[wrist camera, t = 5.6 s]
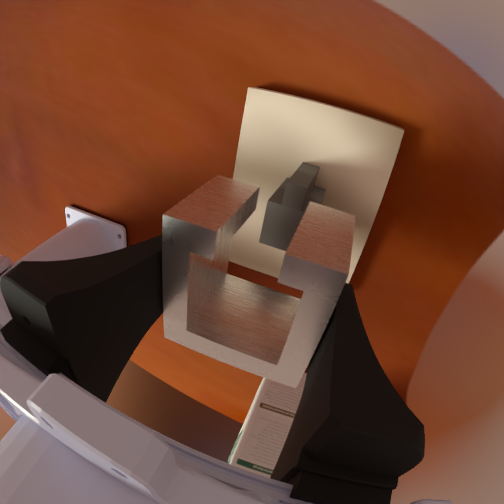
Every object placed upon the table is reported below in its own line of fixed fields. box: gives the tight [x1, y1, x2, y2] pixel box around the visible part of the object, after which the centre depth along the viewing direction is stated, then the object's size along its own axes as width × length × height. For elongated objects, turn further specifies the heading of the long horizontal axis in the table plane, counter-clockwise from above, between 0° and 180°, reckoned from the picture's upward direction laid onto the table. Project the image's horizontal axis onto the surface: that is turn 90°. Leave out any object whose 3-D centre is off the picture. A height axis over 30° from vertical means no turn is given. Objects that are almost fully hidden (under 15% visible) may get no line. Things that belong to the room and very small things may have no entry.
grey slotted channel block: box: [162, 175, 356, 388], centre depth 12 cm, size 6×6×4 cm
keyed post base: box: [229, 87, 404, 284], centre depth 18 cm, size 12×9×5 cm
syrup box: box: [227, 372, 307, 478], centre depth 24 cm, size 6×6×14 cm
